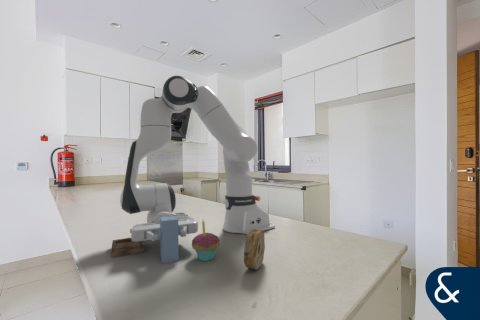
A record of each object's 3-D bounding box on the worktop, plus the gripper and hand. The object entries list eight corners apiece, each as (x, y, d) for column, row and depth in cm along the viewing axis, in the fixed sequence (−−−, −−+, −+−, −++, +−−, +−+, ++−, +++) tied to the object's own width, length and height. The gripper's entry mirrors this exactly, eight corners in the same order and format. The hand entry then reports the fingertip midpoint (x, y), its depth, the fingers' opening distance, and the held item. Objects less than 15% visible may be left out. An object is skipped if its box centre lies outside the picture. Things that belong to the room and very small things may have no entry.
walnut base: (141, 243, 83) (141, 236, 83) (143, 251, 75) (143, 244, 75) (112, 247, 79) (112, 240, 79) (111, 257, 71) (111, 249, 71)
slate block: (175, 254, 73) (175, 216, 73) (178, 260, 68) (178, 219, 69) (160, 257, 71) (159, 217, 71) (162, 263, 67) (162, 221, 67)
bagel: (254, 258, 70) (254, 224, 70) (266, 260, 68) (266, 225, 68) (241, 274, 60) (240, 235, 60) (254, 276, 58) (254, 236, 58)
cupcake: (215, 264, 65) (214, 221, 65) (186, 262, 67) (186, 220, 67) (223, 252, 74) (223, 214, 74) (197, 251, 75) (197, 213, 75)
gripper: (129, 219, 77) (130, 230, 64) (191, 212, 86) (202, 221, 73) (129, 238, 77) (130, 253, 64) (191, 229, 86) (202, 241, 73)
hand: (169, 236), depth 69 cm, fingers open, 7 cm apart
